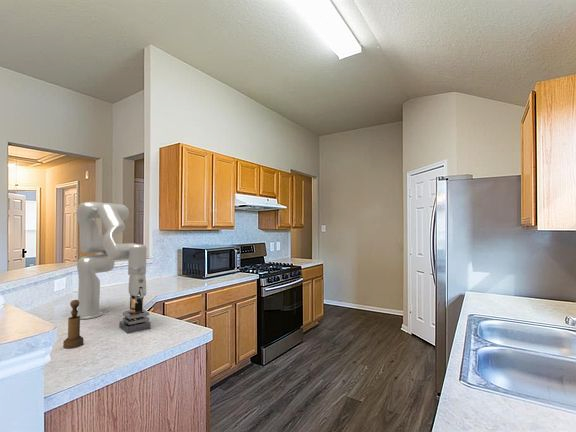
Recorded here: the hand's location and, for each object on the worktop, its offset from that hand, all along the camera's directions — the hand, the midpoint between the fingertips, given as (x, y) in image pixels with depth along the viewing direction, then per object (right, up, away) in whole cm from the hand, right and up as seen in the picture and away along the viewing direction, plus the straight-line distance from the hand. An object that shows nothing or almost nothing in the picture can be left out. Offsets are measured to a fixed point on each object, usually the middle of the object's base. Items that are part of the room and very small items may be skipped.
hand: (136, 309), depth 144 cm
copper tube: (0, -6, 0) cm, 6 cm away
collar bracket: (-1, -9, 0) cm, 9 cm away
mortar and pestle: (-15, -8, -21) cm, 27 cm away
